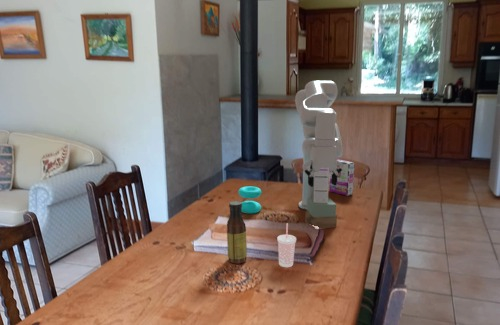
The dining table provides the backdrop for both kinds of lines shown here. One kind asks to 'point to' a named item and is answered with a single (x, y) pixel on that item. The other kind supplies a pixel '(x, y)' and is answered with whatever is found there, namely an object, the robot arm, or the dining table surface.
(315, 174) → the syrup box
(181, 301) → the dining table surface
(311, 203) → the tower top
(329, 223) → the tower base
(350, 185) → the candy bar box
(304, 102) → the robot arm
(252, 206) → the donuts
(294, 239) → the beverage cup
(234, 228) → the sauce bottle
